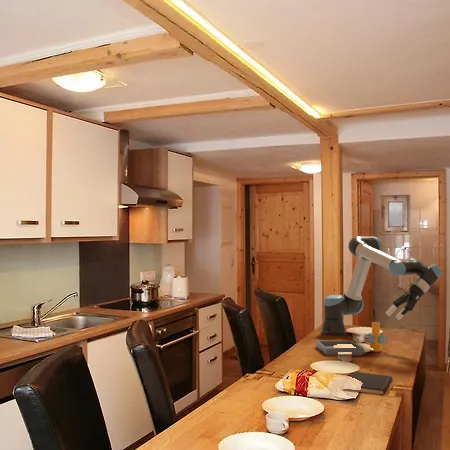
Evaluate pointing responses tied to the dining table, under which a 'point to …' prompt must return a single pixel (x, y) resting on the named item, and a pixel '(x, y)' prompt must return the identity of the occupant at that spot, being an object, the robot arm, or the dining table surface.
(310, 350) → the dining table surface
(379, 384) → the hardcover book
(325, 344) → the tray
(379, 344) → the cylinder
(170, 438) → the dining table surface
